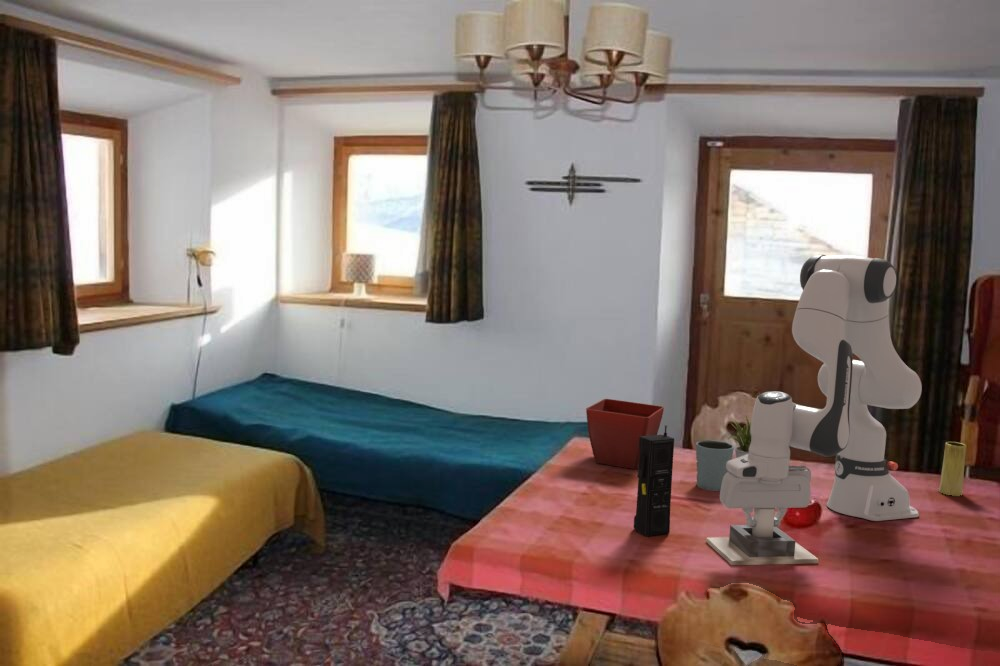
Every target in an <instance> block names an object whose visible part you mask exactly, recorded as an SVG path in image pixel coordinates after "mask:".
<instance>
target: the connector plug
mask: <svg viewBox="0 0 1000 666" xmlns="http://www.w3.org/2000/svg"><path fill="white" fill-rule="evenodd" d="M775 515H776V508H753V518H754V519H756V523H755V524H756V527H752V536H753V537H754V538H773V529H774V518H775Z"/></svg>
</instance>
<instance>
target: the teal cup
mask: <svg viewBox="0 0 1000 666" xmlns="http://www.w3.org/2000/svg"><path fill="white" fill-rule="evenodd" d="M734 450H735V446H734V445H733V444H732V443H730V442H726V441H722V440H713V439H711V440H710V439H706V440H699V441H697V442H695V455H696V456H695V457H696V464H695V465H696V485H697V487H698V488H700V489H702V490H705V491H712V492H713V491H714V492H720V491H721V484H722V480H723V477H724V475H725V474H726V473H727V472H729V471H728V470H727V469H726V463H727V461H729V460H732V459H733V456H734V455H733V454H734Z"/></svg>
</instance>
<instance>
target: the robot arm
mask: <svg viewBox="0 0 1000 666" xmlns="http://www.w3.org/2000/svg"><path fill="white" fill-rule="evenodd" d="M799 283H800V287H801V289H802V293H801V295H800V298H799V299H798V303H797V305H796V308H795V312H794V316H793V319H792V324H791V325H792V326H791V335H792V337H793V339H794V341H795V342H796V344H797V345H798V346H799V348H801V349H802V350H803V351H805V353H807V354H809V355H811V356H812V357H814V358H815V359H817V360H818V361H820V362H821V363H823V364H822V365H821V367H820V368H819V369H818V370H819V371H818V374H817V384H818V387H819V389H820V391H821V393H822V394H823V395H824V396H825V397H826V404H825V406H824V408H817V407H811V406H805V405H802V404H797V403H796V402H793V398H792V396H791V395H789V394H788V393H786V392H782V391H765V392H762V393H760V394H758V395H757V397H756V399H755V401H754V405H753V410H752V414H751V420H750V422H751V429H750V433H751V444H750V447H749V453H748V454H746V455H744V456H741V457H738V458H736V457H735V458H732V460H729V461H727V463H726V469H727V470H728V471H729V472H727V473H726V474H725V475H724V477H723V480H722V484H721V491H719V500H720V502H721V504H722V505H723V506H724V507H726V508H727V509H742V512H743V514H744V516H745V517H746V521H745V522H746V523H745V525H747V526H748V527H756V524H755V523H756V519H754V518H753V517H752V515H751V513H752V514H753V512H754V508H775V510H777V511H776V512H775V518H774V527H777V528H778V527H781V522H782V519H783V518H784V516H785V515H786V513H787V512H788V511H787V510H788V508H795V509H796V508H807V507H808V506H809V505H810V504H811V501H812V500H811V497H812V495H811V493H812V491H811V481H812V471H811V470H810V468H808V467H806V465H790V463H791V461H790V460H791V449H790V447H791V448H795V449H798V450H803V451H808V452H811V453H813V454H816V455H820V456H823V457H824V458H825V457H826V458H831V457H834V456H835V465H834V481H833V485H832V489H831V492H830V495H829V497H828V500H827V503H826V507H827V508H828V509H830V510H832V511H834V512H837V513H839V514H843V515H846V516H851V517H855V518H861V519H865V520H869V521H872V522H882V521H890V520H891V521H892V520H902V519H910V518H918V517H919V511H918V510H917V509H916V508H915V507H913V506H911V505H910V504H911V499H910V493H909V491H908V490H907V488H906V487H905V486H903V484H901V483H900V482H899V481H898V480H897V479H896V478H895V477H894V476H893V475H892V474H890V471H889V470H892V471H897V470H898V468H899V464H898V463H897V462H894V461H890V460H889V461H888V460H887V459H885V452H886V451H885V450H886V442H887V431H886V428H885V426H883V424H882V423H881V422H879V421H878V420H877V419H876V418H875V417H873V416H872V414H871V413H870V411H869V409H868V406H872V407H879V408H884V409H890V410H891V409H892V410H900V409H901V410H904V409H906V410H907V409H911V408H912V407H913V406H915V405H916V404H917V403H918V401H919V400H920V398H921V395H922V390H923V389H922V387H923V385H922V381H921V379H920V377H919V375H918V374H917V372H916V371H914V370H913V369H911V368H910V367H909V366H908V365H906V363H905V362H904V361H903V360H902V358H901V357H900V355H899V354H898V353H897V351H896V349H895V347H894V345H893V341H892V338H891V330H890V329H891V328H890V327H891V326H890V316H889V314H890V313H889V312H890V311H889V301H888V299H889V298H891V297H892V296H893V294H894V292H895V290H896V286H897V271H896V268H895V267H894V265H893V264H892V262H891V261H889V260H886V259H884V258H880V257H874V258H872V257H869V256H868V257H867V256H861V255H860V256H859V255H852V254H849V255H825V254H819V255H813V256H810V257H809V258H808V259H807V260H806V261H805V262H804V263H803V264H802V266H801V270H800V273H799ZM853 354H854V355H855V356H856V357H857V358H859V360H857V359H854V356H853Z"/></svg>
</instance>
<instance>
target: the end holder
mask: <svg viewBox="0 0 1000 666" xmlns="http://www.w3.org/2000/svg"><path fill="white" fill-rule="evenodd" d="M728 536H729V537H728ZM728 536H726V537H723V536H721V537H706V538H705V542H706V543H707V544H708V546H710V547H711V548H712V549H714V551H716V552H717V553H718V554H719V556H721V557H722V558H723V559H724V560H725V561H727V562H728V564H730V565H731V566H755V565H757V566H759V565H760V566H761V565H797V564H798V565H799V564H800V565H801V564H802V565H803V564H804V565H805V564H806V565H807V564H808V565H809V564H819V558H818V557H816V556H815V555H814V554H812V553H811V552H810V551H808V550H807V549H806V548H805V547H803V546H801V545H800V544H799V543H797V541H796V540H795V539H793V538H792V537H791V536H789V535H788V534H787V533H786V532H784V531H783V530H781V529H780V528H778V527H774V529H773V538H754V537H753V536H752V527H748V526H747V525H746V524H730V526H729V534H728Z"/></svg>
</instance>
